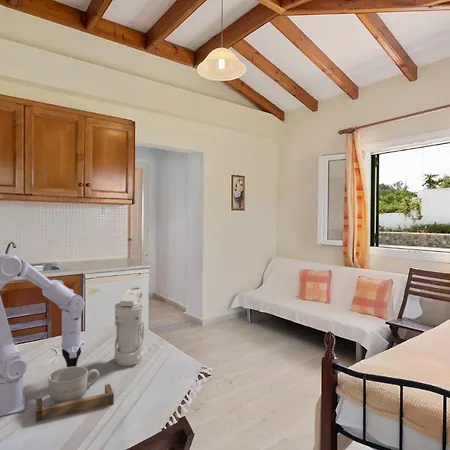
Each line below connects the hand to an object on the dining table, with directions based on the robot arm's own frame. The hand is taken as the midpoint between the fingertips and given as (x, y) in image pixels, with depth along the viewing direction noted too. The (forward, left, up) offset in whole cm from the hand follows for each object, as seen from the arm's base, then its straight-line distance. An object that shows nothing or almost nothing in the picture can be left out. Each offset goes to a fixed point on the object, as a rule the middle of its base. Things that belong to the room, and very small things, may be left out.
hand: (71, 370), depth 116 cm
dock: (0, -16, -3) cm, 17 cm away
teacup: (0, -11, -4) cm, 12 cm away
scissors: (-3, +23, -4) cm, 24 cm away
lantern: (+21, +9, -4) cm, 23 cm away
